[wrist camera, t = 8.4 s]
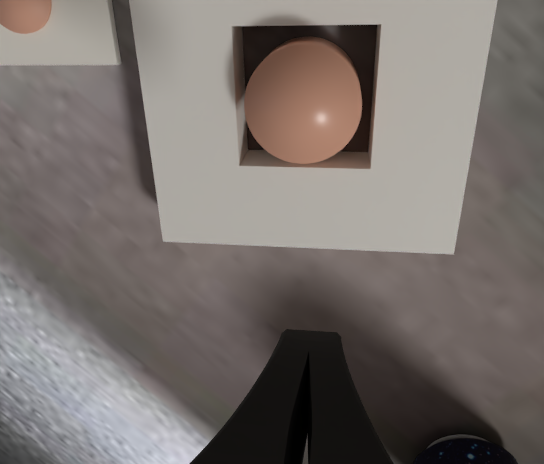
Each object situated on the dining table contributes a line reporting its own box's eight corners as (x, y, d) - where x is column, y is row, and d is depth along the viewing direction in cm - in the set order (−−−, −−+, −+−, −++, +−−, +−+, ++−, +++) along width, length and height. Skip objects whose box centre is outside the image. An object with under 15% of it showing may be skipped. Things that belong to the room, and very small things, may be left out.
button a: (357, 143, 20) (358, 165, 17) (257, 141, 20) (246, 162, 18) (363, 35, 18) (366, 44, 16) (253, 37, 18) (241, 45, 16)
